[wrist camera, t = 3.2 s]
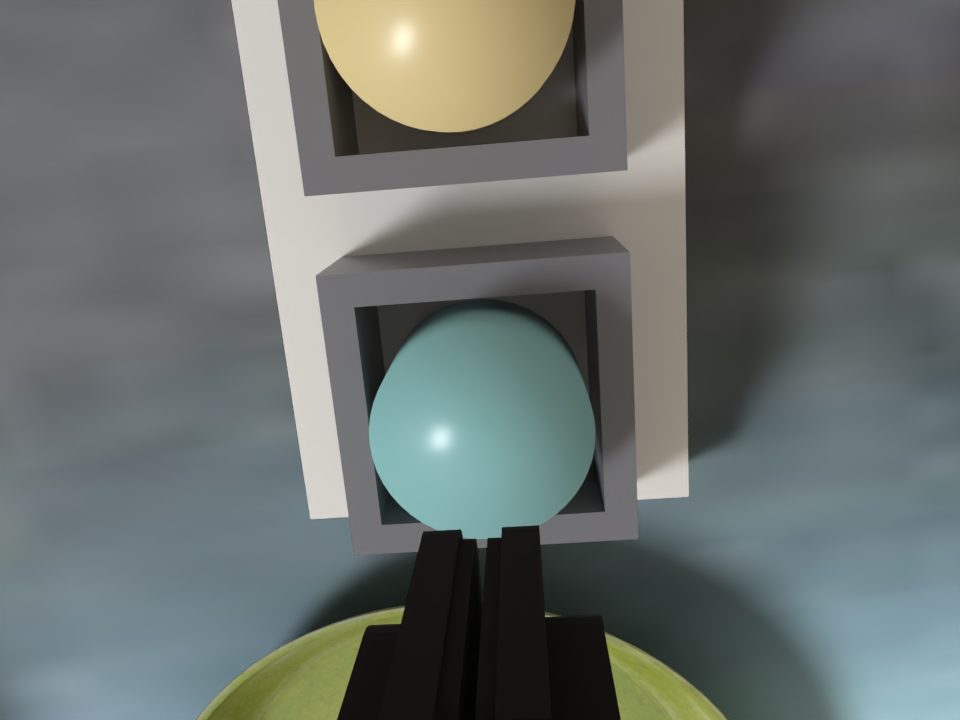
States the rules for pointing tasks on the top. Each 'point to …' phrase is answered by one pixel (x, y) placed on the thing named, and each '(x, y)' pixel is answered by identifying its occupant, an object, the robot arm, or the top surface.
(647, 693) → the saucer
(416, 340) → the teal button
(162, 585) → the top surface
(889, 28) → the top surface
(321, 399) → the button panel
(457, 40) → the ochre button
